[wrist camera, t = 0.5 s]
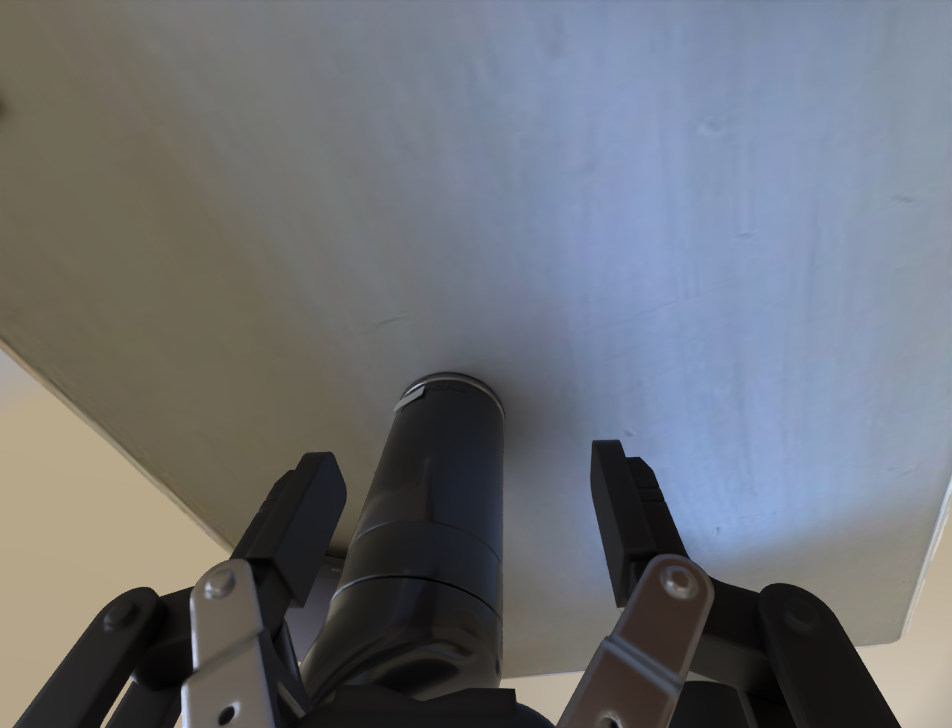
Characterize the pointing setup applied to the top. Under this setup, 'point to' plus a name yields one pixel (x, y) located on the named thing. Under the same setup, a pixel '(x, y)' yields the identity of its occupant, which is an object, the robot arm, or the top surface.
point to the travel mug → (707, 704)
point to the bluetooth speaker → (313, 607)
